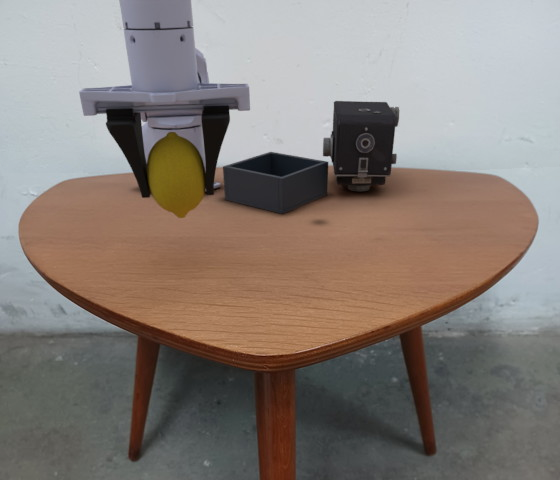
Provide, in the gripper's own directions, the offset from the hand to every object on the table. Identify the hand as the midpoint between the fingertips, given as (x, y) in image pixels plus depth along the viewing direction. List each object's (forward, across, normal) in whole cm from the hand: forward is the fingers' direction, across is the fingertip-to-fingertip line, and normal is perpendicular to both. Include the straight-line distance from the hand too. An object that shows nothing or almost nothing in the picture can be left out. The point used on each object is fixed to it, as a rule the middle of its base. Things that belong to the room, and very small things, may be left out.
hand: (178, 193), depth 53 cm
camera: (+8, +24, +27) cm, 37 cm away
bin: (+8, +12, +22) cm, 26 cm away
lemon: (+3, 0, 0) cm, 3 cm away
